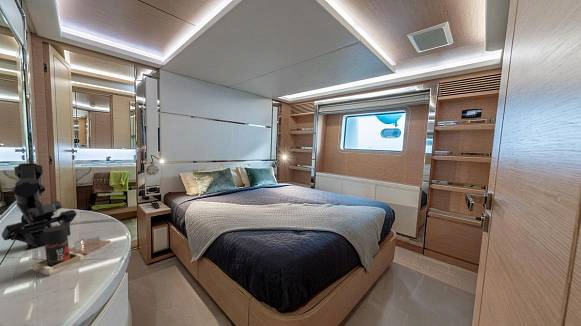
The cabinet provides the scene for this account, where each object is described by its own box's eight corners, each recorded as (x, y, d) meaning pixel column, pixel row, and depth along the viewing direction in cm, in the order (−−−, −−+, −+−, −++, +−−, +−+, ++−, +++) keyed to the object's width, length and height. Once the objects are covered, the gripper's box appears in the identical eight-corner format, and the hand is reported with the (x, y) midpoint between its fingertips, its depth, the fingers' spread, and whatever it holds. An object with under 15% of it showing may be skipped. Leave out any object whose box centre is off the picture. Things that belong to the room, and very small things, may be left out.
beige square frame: (32, 270, 78) (32, 264, 78) (67, 256, 88) (67, 250, 88) (49, 275, 75) (49, 269, 75) (83, 260, 85) (83, 254, 85)
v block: (110, 242, 100) (110, 235, 100) (87, 254, 89) (86, 247, 89) (90, 241, 101) (89, 234, 101) (64, 253, 90) (63, 246, 90)
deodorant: (55, 271, 78) (50, 232, 77) (43, 268, 79) (38, 231, 78) (74, 262, 84) (70, 226, 82) (63, 260, 85) (59, 224, 83)
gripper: (1, 203, 72) (24, 239, 70) (71, 191, 89) (91, 219, 87) (-8, 223, 75) (14, 257, 73) (61, 207, 93) (80, 234, 91)
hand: (54, 240), depth 81 cm, fingers open, 9 cm apart
